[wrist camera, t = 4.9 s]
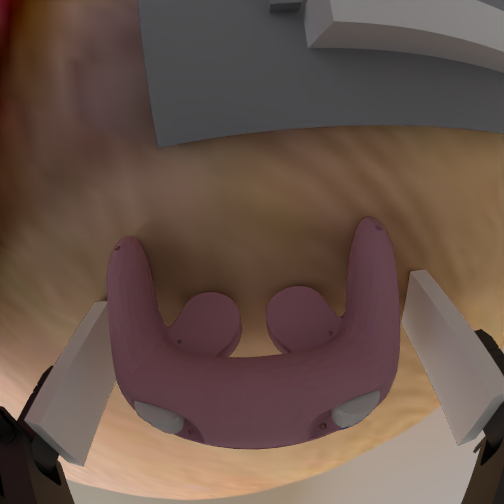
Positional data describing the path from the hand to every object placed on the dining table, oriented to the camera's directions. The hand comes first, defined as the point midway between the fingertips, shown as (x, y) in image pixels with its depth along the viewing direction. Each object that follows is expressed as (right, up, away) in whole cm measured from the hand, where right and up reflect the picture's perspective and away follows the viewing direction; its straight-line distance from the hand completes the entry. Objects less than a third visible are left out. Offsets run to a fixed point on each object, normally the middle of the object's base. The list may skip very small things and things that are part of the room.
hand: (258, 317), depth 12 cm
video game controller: (0, +1, 0) cm, 1 cm away
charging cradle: (+5, +16, -8) cm, 18 cm away
